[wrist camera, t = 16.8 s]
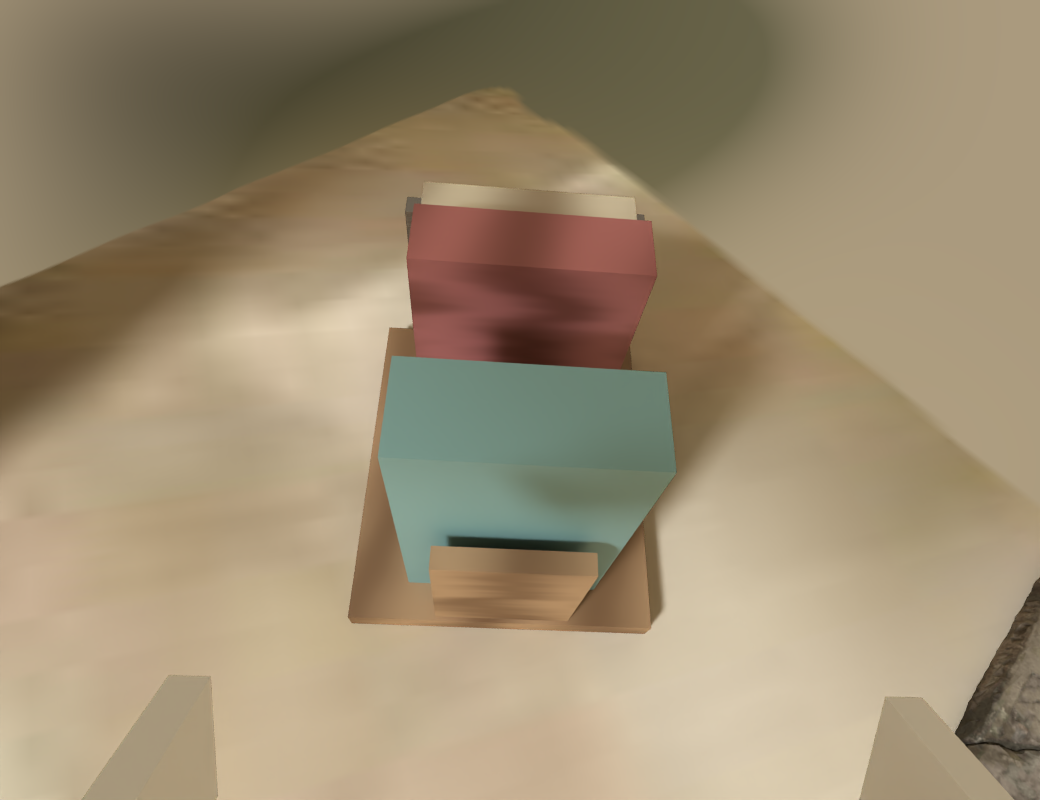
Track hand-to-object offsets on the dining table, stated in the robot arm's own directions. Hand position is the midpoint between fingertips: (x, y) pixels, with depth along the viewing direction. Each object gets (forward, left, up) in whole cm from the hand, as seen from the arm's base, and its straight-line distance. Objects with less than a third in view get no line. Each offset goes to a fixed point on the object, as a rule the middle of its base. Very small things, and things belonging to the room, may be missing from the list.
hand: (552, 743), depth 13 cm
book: (0, +10, -22) cm, 24 cm away
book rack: (0, +17, -23) cm, 28 cm away
